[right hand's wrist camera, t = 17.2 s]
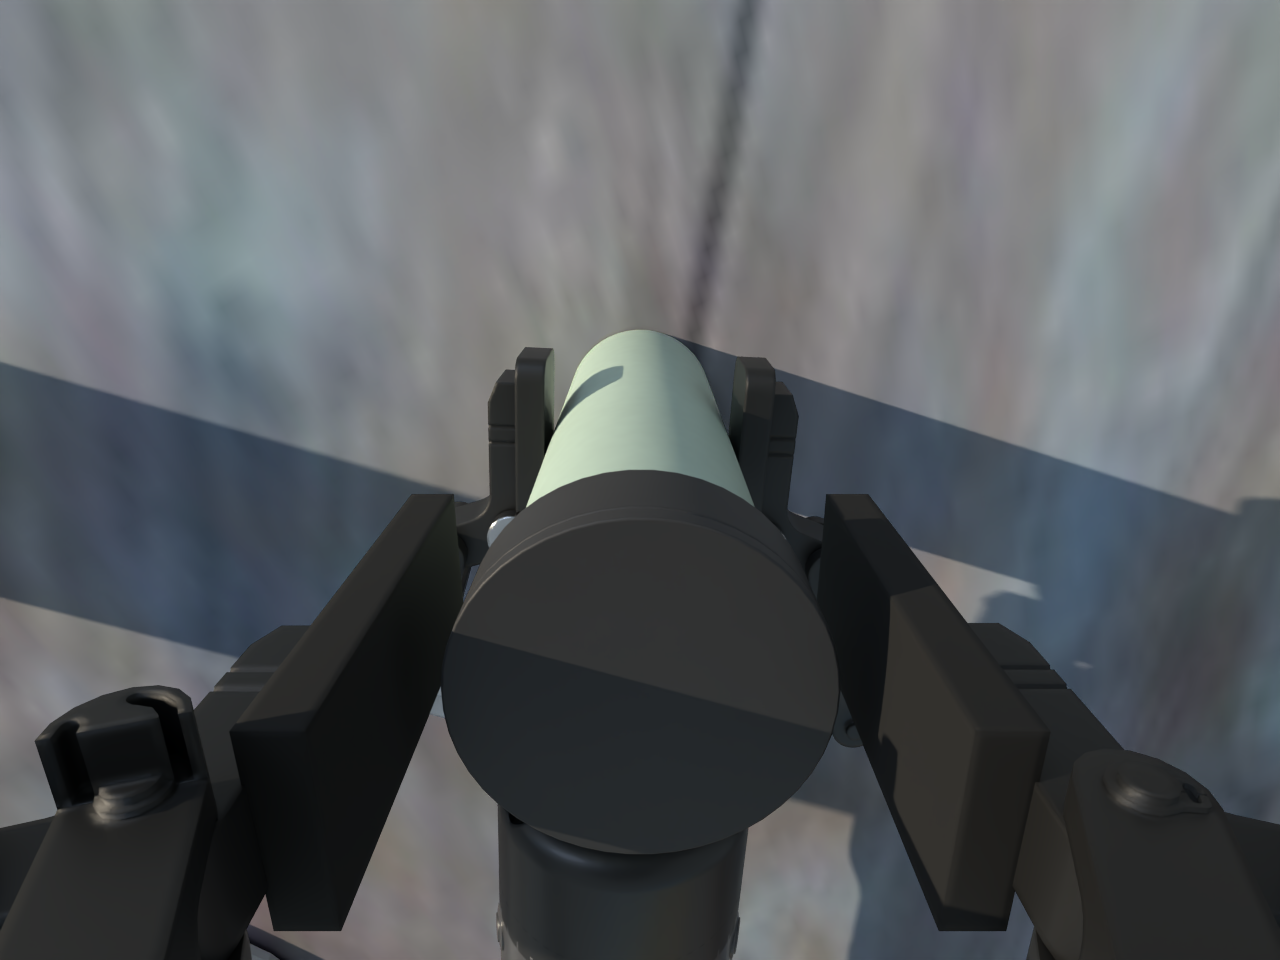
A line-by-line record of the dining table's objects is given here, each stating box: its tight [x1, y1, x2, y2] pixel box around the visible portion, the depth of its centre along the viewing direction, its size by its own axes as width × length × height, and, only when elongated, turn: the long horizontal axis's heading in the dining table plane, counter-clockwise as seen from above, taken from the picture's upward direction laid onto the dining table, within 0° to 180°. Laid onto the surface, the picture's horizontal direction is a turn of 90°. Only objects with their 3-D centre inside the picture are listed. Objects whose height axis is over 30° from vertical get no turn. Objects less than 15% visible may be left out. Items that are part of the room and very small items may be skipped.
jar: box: [526, 330, 754, 507], centre depth 18 cm, size 5×5×16 cm
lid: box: [441, 470, 841, 854], centre depth 11 cm, size 5×5×2 cm
